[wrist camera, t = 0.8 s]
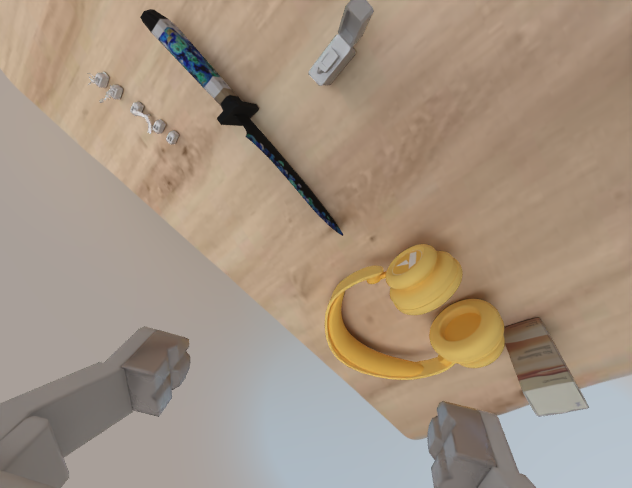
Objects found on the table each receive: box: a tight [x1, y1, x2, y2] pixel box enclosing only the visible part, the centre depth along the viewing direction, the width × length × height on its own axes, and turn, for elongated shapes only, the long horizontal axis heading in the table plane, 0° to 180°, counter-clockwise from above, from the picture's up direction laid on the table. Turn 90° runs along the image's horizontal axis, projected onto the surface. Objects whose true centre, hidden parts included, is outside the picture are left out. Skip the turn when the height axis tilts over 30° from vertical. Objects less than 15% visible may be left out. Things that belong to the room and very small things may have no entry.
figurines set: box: [88, 72, 179, 144], centre depth 38 cm, size 12×3×3 cm, turn 52°
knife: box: [141, 9, 343, 236], centre depth 36 cm, size 31×3×4 cm, turn 36°
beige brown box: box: [503, 318, 589, 417], centre depth 37 cm, size 5×4×10 cm
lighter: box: [309, 0, 374, 86], centre depth 28 cm, size 7×2×8 cm, turn 138°
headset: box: [325, 244, 505, 380], centre depth 40 cm, size 18×21×9 cm
